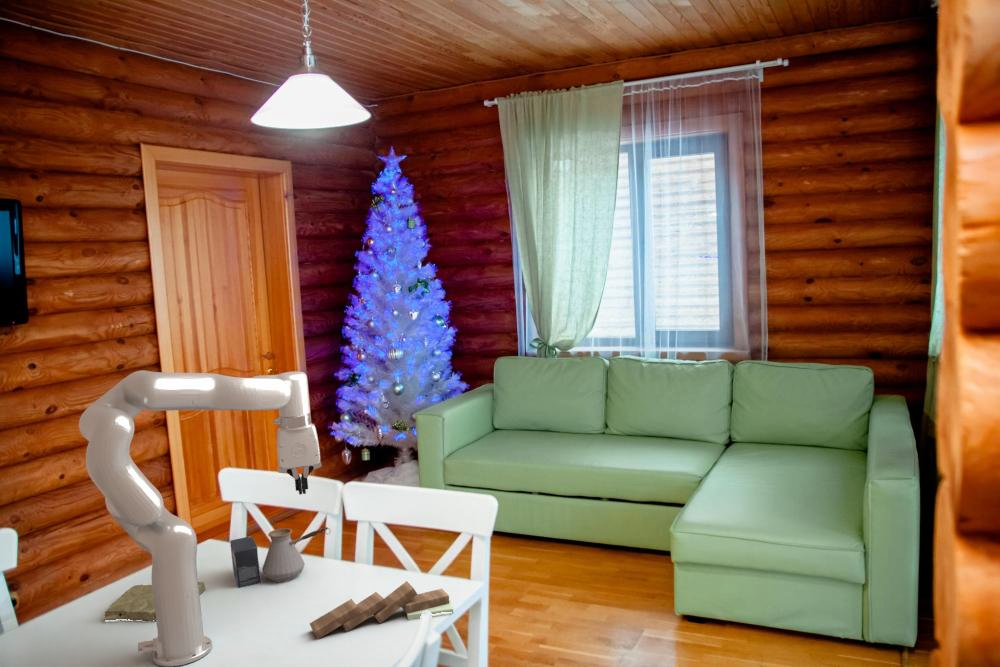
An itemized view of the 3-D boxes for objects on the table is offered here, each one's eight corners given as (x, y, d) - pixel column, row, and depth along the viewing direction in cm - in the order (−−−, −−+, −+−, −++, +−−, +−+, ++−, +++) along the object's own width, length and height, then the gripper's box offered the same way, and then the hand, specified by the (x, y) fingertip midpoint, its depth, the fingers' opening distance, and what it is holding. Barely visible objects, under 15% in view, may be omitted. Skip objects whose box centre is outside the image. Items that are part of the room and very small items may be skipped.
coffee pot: (254, 583, 219) (249, 530, 218) (278, 567, 230) (273, 516, 229) (322, 589, 213) (317, 534, 211) (344, 572, 223) (339, 520, 222)
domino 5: (407, 615, 191) (453, 608, 193) (406, 606, 196) (450, 600, 198) (408, 623, 191) (453, 616, 193) (406, 614, 196) (451, 608, 198)
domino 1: (314, 632, 184) (357, 606, 188) (309, 623, 188) (351, 598, 192) (317, 639, 184) (360, 613, 188) (312, 630, 189) (354, 605, 193)
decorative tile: (133, 595, 218) (131, 583, 218) (206, 590, 218) (205, 578, 217) (99, 627, 199) (97, 613, 199) (179, 622, 199) (177, 608, 199)
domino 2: (343, 624, 186) (383, 598, 191) (336, 617, 191) (375, 591, 196) (346, 631, 187) (387, 605, 192) (339, 624, 191) (379, 598, 196)
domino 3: (375, 617, 189) (413, 588, 193) (369, 609, 194) (406, 581, 198) (379, 623, 190) (417, 594, 194) (373, 615, 195) (410, 587, 198)
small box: (232, 575, 226) (228, 539, 225) (256, 570, 229) (252, 535, 228) (237, 588, 217) (233, 551, 216) (261, 583, 220) (258, 546, 218)
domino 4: (405, 605, 191) (448, 595, 196) (399, 598, 196) (441, 588, 200) (406, 613, 192) (449, 603, 196) (400, 606, 196) (442, 596, 201)
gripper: (264, 428, 193) (272, 501, 195) (327, 420, 198) (333, 492, 200) (264, 422, 201) (271, 493, 202) (324, 415, 205) (330, 484, 207)
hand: (302, 492), depth 201 cm, fingers closed
